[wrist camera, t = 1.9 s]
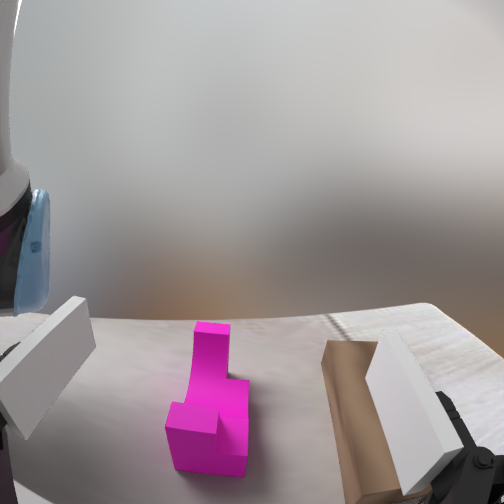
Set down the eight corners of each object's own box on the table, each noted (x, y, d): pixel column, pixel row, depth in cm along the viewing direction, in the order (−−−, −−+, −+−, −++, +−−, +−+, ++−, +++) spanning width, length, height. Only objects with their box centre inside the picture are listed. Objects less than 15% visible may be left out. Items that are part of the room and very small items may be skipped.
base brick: (346, 511, 16) (363, 494, 15) (321, 363, 37) (327, 340, 36) (438, 491, 16) (459, 471, 15) (386, 363, 37) (395, 341, 36)
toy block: (244, 478, 20) (250, 436, 18) (175, 470, 20) (164, 426, 18) (247, 374, 35) (252, 326, 32) (197, 370, 35) (197, 321, 32)
